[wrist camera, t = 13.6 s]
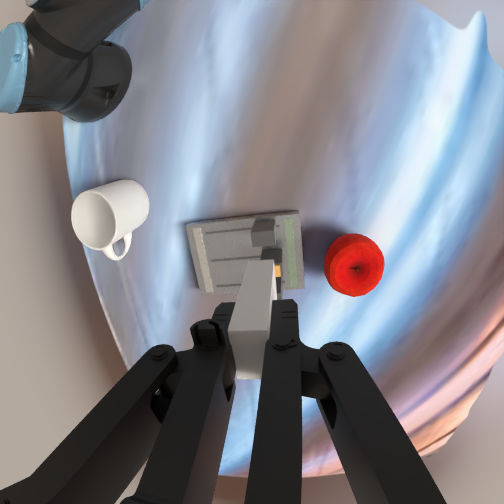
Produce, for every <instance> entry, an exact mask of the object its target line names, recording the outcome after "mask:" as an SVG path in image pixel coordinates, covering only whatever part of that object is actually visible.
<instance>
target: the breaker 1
mask: <svg viewBox="0 0 504 504" xmlns="http://www.w3.org/2000/svg"><path fill="white" fill-rule="evenodd" d="M250 233H251V240H252V247H261V246H273V245H276V237H277V231H276V222H275V220H269V221H258V222H254V224H253V227H252V230H251V232H250Z"/></svg>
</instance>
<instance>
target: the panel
mask: <svg viewBox="0 0 504 504" xmlns="http://www.w3.org/2000/svg"><path fill="white" fill-rule="evenodd" d="M269 220H275V222H276V231H277V237H276V245H273V246H261V247H252V240H251V233H250V232H251V230H252V227H253V224H254V222H258V221H269ZM186 230H187V235H188V240H189V245H190V249H191V254H192V258H193V263H194V267H195V272H196V276H197V280H198V284H199V288H200V293H201V295H214V294H233V293H239V290H240V286H241V283H242V280H243V276H244V273H245V269H246V266H247V263H248V261H256V260H260V258H261V253H262V251H265V250H277V249H282V252H283V277H281V278H282V290H292V289H304V288H305V283H304V267H303V252H302V239H301V226H300V215H299V211H289V212H279V213H268V214H258V215H249V216H239V217H230V218H222V219H213V220H205V221H196V222H189V223H188V224H187V225H186Z"/></svg>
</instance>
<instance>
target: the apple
mask: <svg viewBox="0 0 504 504" xmlns="http://www.w3.org/2000/svg"><path fill="white" fill-rule="evenodd" d="M383 270H384V257H383V254H382V252H381V250H380V249H379V247H378V246H377V245H376V243H375V242H373V241H372V240H371V239H369V238H368V237H366V236H363V235H361V234H345V235H342V236H340V237H339V238H337V239H336V240H334V241H333V243H332V244H331V245H330V246H329V248H328V250H327V253H326V255H325V260H324V271H325V276H326V278H327V280H328V283H329V284H330V286H331V287H332V288H333V289H334V290H336V291H338V292H340V293H342V294H345V295H349V296H352V297H356V296H361V295H365V294H367V293H368V292H370V291H371V290H373V289H374V288H375V287H376V286H377V284H378V283H379V281H380V280H381V278H382V274H383Z"/></svg>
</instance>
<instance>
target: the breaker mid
mask: <svg viewBox="0 0 504 504" xmlns="http://www.w3.org/2000/svg"><path fill="white" fill-rule="evenodd" d="M272 259H274V267H275V277H283V252H282V249H277V250H265V251H262V253H261V258H260V260H272Z"/></svg>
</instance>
